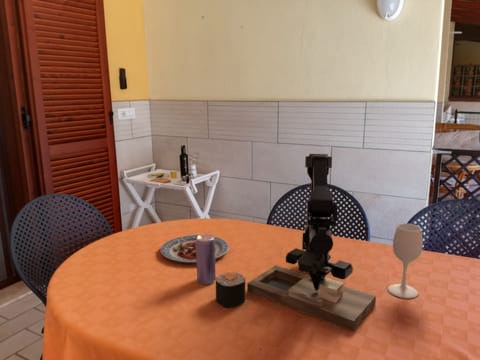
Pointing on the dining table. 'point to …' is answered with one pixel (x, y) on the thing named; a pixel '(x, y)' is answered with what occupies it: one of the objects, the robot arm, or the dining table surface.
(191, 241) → the ceramic plate
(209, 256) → the beverage can
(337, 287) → the block
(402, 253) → the wineglass
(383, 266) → the dining table surface
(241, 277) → the sushi
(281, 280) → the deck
